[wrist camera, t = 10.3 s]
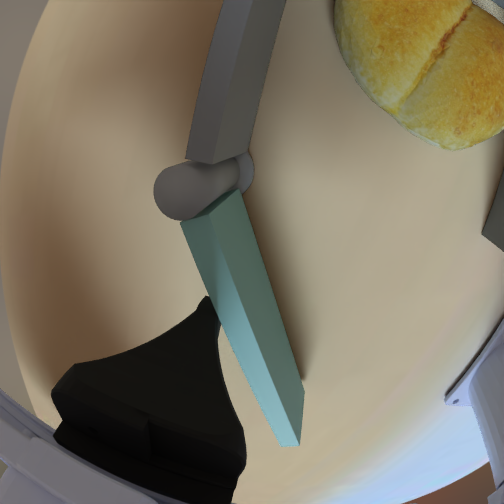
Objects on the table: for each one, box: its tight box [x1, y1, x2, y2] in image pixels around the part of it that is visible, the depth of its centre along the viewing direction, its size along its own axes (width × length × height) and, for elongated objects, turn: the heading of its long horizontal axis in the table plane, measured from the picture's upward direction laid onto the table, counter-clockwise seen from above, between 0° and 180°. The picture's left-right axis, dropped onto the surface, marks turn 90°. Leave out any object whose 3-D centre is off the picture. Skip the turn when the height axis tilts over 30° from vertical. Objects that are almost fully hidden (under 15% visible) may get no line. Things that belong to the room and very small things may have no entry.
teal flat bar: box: [154, 157, 305, 447], centre depth 12 cm, size 14×2×4 cm, turn 18°
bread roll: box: [334, 0, 504, 151], centre depth 7 cm, size 8×9×4 cm
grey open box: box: [185, 0, 504, 252], centre depth 7 cm, size 15×16×5 cm
